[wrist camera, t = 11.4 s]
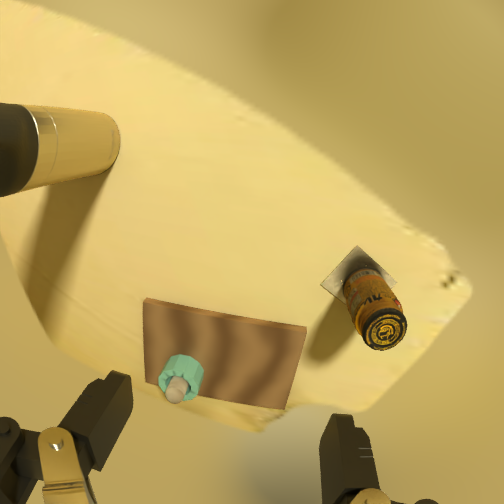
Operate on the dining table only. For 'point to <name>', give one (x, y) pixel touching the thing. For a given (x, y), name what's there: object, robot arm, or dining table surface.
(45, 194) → the dining table surface
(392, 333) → the condiment
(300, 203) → the dining table surface
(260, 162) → the dining table surface
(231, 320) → the board
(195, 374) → the ring
